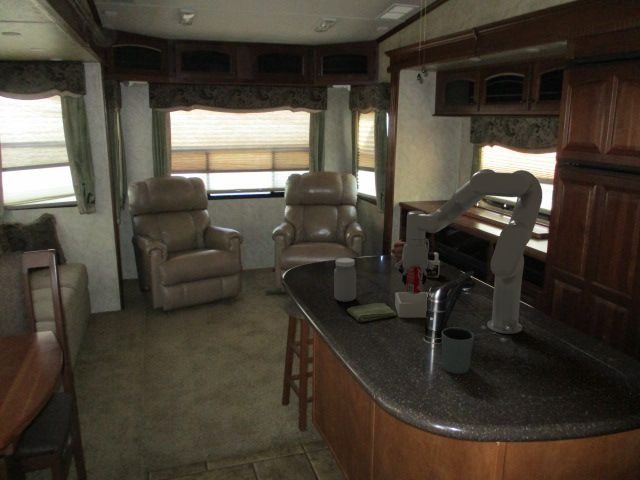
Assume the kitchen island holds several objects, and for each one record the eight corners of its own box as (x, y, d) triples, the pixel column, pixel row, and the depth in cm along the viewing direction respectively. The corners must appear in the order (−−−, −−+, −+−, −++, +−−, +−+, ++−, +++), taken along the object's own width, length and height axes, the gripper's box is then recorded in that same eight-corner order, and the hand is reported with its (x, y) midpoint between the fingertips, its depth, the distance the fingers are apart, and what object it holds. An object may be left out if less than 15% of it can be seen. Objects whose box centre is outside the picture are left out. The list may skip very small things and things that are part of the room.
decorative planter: (420, 261, 298) (421, 236, 295) (430, 266, 287) (431, 241, 284) (387, 263, 293) (387, 239, 290) (395, 269, 282) (396, 244, 279)
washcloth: (398, 317, 217) (398, 310, 216) (358, 324, 210) (358, 316, 210) (382, 307, 229) (383, 300, 228) (345, 313, 222) (345, 305, 222)
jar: (359, 300, 236) (360, 261, 232) (339, 303, 232) (339, 264, 228) (350, 294, 244) (350, 256, 240) (330, 297, 241) (330, 258, 237)
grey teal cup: (448, 358, 179) (450, 324, 177) (477, 366, 173) (479, 332, 170) (434, 369, 172) (435, 334, 169) (464, 378, 165) (466, 342, 163)
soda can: (421, 289, 223) (422, 262, 221) (422, 295, 217) (424, 266, 214) (404, 289, 224) (405, 261, 221) (405, 294, 217) (406, 266, 214)
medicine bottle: (423, 276, 269) (424, 253, 266) (425, 273, 276) (426, 250, 273) (438, 278, 267) (439, 254, 264) (439, 274, 274) (440, 251, 271)
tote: (432, 317, 215) (433, 303, 214) (399, 317, 216) (399, 303, 214) (426, 305, 229) (427, 292, 227) (395, 305, 229) (395, 292, 228)
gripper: (435, 239, 219) (433, 281, 223) (392, 239, 219) (391, 281, 223) (438, 244, 212) (436, 286, 216) (395, 244, 212) (393, 286, 216)
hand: (414, 283), depth 219 cm, fingers closed on soda can, 6 cm apart
